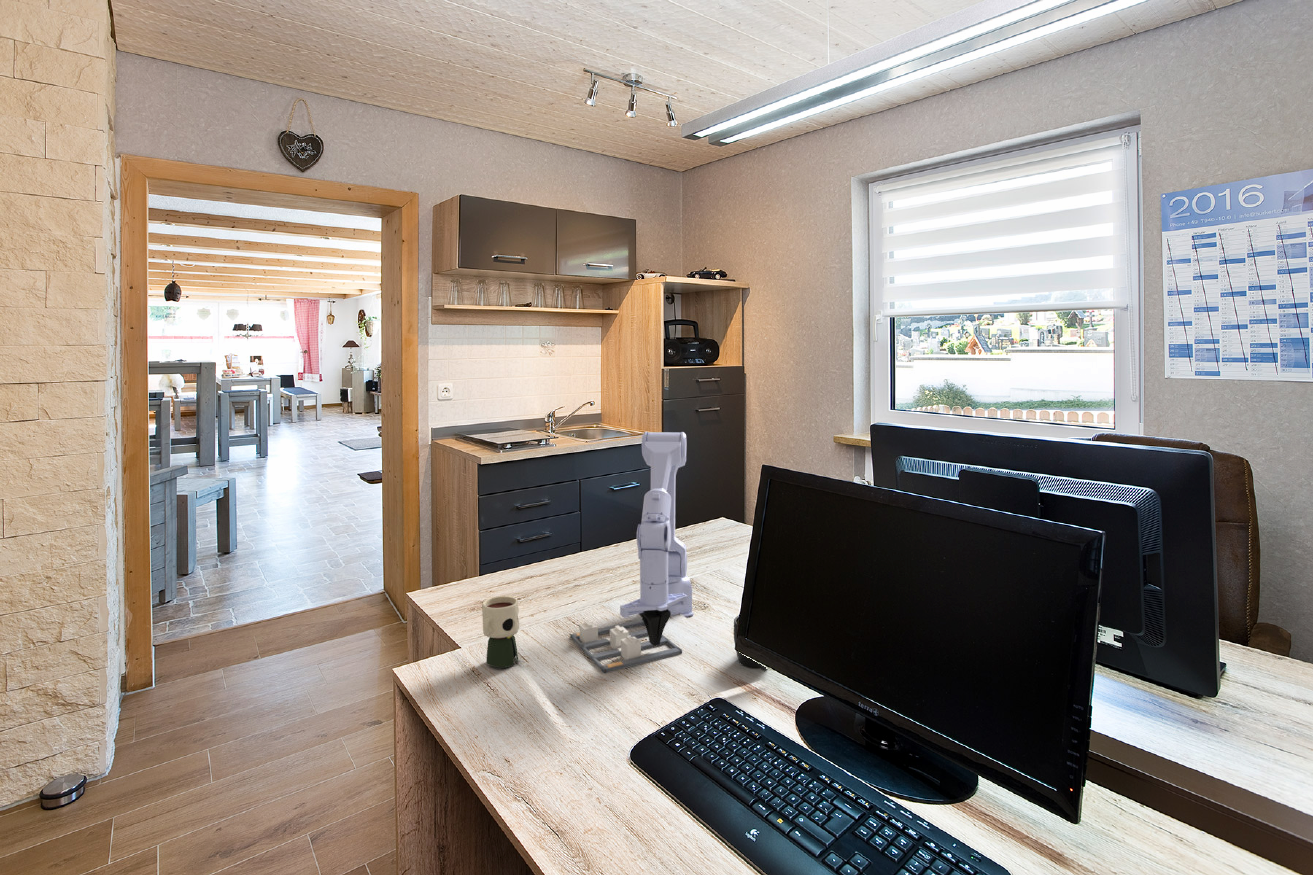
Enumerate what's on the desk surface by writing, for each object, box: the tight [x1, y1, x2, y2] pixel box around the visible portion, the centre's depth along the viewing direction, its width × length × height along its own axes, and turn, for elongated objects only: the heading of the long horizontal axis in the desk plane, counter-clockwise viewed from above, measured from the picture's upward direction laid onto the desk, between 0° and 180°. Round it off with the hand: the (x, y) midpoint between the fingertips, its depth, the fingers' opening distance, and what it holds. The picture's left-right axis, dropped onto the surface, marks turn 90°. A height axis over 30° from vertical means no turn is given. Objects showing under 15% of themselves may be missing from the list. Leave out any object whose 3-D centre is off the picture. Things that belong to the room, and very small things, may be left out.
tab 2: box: [609, 624, 630, 649], centre depth 141 cm, size 3×3×4 cm
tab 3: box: [620, 635, 642, 660], centre depth 136 cm, size 3×3×4 cm
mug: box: [733, 615, 768, 672], centre depth 135 cm, size 8×12×10 cm
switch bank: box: [569, 618, 683, 674], centre depth 141 cm, size 17×18×2 cm
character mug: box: [481, 595, 520, 669], centre depth 135 cm, size 11×7×13 cm, turn 158°
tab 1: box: [578, 620, 599, 644], centre depth 143 cm, size 3×3×4 cm
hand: (654, 643), depth 138 cm, fingers closed
